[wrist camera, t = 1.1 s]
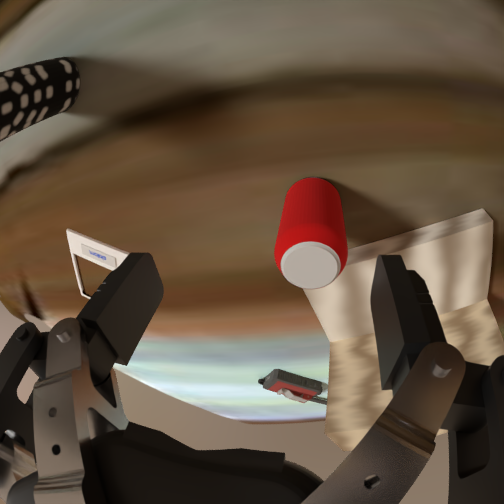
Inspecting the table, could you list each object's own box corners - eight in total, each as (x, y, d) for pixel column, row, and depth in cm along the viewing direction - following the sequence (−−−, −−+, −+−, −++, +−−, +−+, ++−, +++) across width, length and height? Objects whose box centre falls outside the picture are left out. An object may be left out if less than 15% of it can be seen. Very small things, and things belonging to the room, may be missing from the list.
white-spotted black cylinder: (81, 53, 23) (-57, 95, 8) (79, 112, 29) (-45, 180, 13) (43, 60, 24) (-74, 105, 8) (43, 112, 29) (-65, 173, 14)
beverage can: (347, 183, 29) (362, 248, 20) (329, 228, 33) (332, 303, 24) (293, 166, 29) (282, 225, 20) (280, 214, 33) (263, 285, 24)
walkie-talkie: (255, 379, 60) (328, 400, 62) (251, 396, 56) (327, 416, 58) (271, 364, 54) (350, 388, 56) (267, 383, 51) (349, 405, 53)
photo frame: (131, 257, 42) (136, 321, 53) (135, 253, 43) (139, 317, 54) (65, 230, 42) (80, 295, 53) (69, 226, 43) (83, 291, 54)
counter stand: (482, 208, 26) (553, 316, 12) (474, 329, 38) (495, 415, 24) (299, 263, 37) (282, 390, 23) (347, 362, 49) (343, 451, 35)
